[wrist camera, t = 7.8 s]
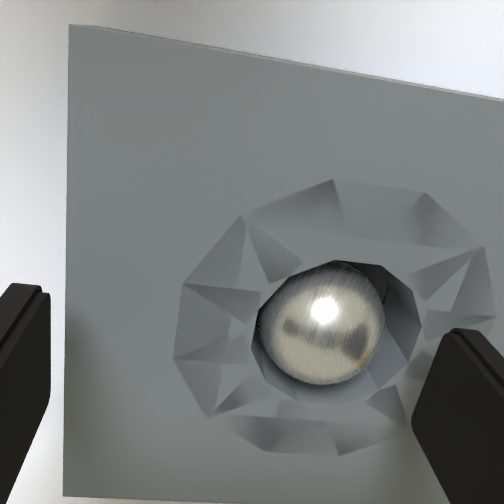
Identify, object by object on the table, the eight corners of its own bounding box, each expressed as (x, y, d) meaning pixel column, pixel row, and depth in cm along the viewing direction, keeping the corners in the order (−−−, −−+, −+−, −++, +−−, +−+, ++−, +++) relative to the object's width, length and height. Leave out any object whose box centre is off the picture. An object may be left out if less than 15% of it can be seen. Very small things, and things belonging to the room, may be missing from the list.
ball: (392, 291, 11) (254, 248, 12) (351, 427, 12) (225, 373, 13) (406, 271, 14) (296, 239, 15) (374, 378, 15) (271, 339, 16)
